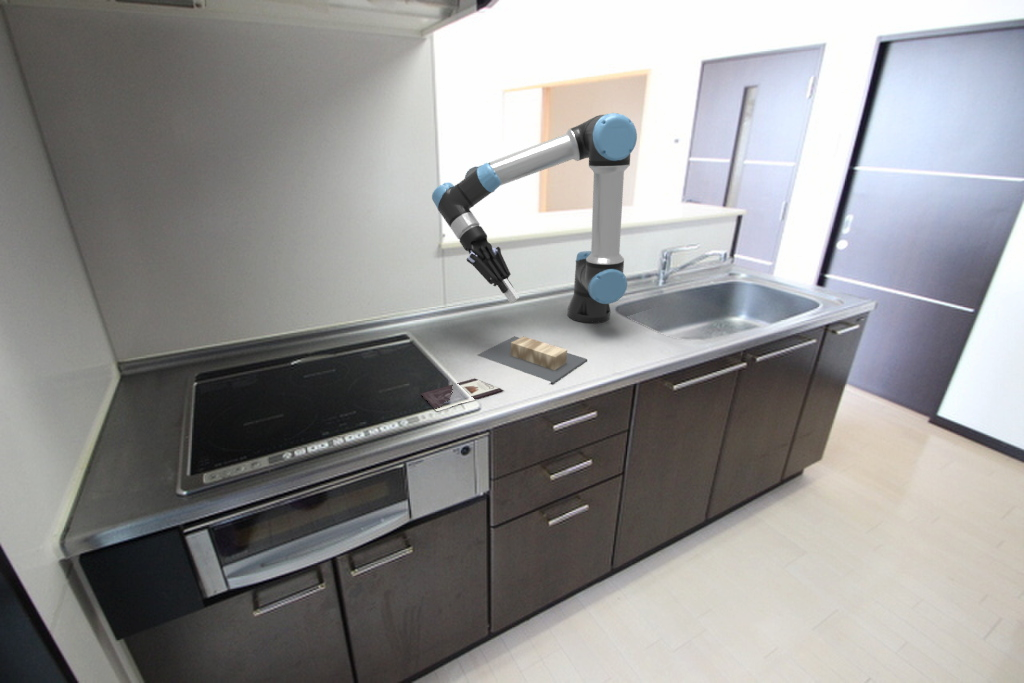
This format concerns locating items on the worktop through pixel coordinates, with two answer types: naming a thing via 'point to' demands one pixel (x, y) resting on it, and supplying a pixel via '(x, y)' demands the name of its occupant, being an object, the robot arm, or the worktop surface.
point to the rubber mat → (503, 356)
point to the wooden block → (539, 353)
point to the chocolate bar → (472, 387)
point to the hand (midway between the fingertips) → (515, 300)
